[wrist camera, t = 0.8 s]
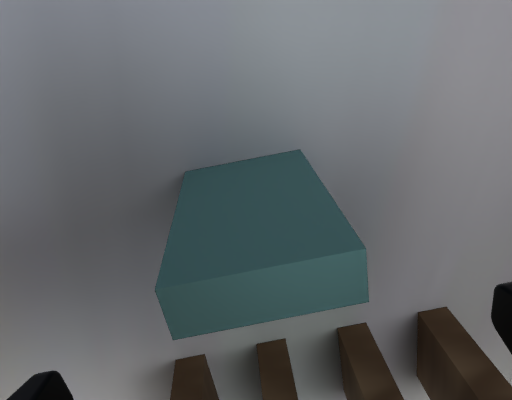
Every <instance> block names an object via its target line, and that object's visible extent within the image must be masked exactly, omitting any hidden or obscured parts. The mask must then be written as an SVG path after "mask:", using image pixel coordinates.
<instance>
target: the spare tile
mask: <svg viewBox="0 0 512 400" xmlns="http://www.w3.org/2000/svg"><path fill="white" fill-rule="evenodd" d="M155 292H156V295H157V297H158V300H159V303H160V306H161V308H162V311H163V314H164V317H165V319H166V322H167V325H168V328H169V330H170V333H171V336H172V339H173V340H177V339H182V338H187V337H192V336H197V335H202V334H207V333H212V332H218V331H223V330H228V329H233V328H238V327H243V326H248V325H253V324H258V323H264V322H269V321H274V320H279V319H284V318H289V317H294V316H299V315H305V314H310V313H315V312H320V311H325V310H330V309H335V308H340V307H345V306H351V305H356V304H361V303H366V302H369V295H368V277H367V258H366V248H365V246H364V245H363V243H362V242H361V240H360V239H359V237H358V236H357V234H356V233H355V231H354V230H353V228H352V227H351V225H350V224H349V222H348V221H347V219H346V218H345V216H344V215H343V213H342V212H341V210H340V209H339V207H338V206H337V204H336V203H335V201H334V200H333V198H332V197H331V195H330V194H329V192H328V191H327V189H326V188H325V186H324V185H323V183H322V182H321V180H320V179H319V177H318V176H317V174H316V173H315V171H314V170H313V168H312V167H311V165H310V164H309V162H308V161H307V159H306V158H305V156H304V155H303V153H302V152H301V150H295V151H290V152H284V153H279V154H274V155H269V156H264V157H259V158H253V159H248V160H243V161H238V162H233V163H228V164H223V165H217V166H212V167H207V168H202V169H197V170H192V171H186V172H185V175H184V179H183V183H182V187H181V191H180V195H179V198H178V202H177V206H176V210H175V214H174V218H173V221H172V225H171V229H170V233H169V237H168V241H167V245H166V248H165V252H164V256H163V260H162V264H161V268H160V272H159V275H158V279H157V283H156V287H155Z"/></svg>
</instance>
